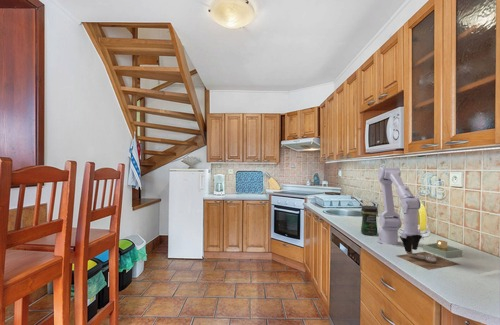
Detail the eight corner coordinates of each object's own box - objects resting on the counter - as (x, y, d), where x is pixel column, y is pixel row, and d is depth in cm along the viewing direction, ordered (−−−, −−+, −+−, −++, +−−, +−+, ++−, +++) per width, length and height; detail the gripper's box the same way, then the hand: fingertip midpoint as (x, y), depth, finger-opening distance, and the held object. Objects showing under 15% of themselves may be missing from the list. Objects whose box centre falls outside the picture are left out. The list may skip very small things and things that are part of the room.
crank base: (395, 257, 115) (395, 255, 115) (425, 253, 120) (425, 251, 120) (428, 272, 99) (428, 269, 99) (461, 266, 105) (461, 263, 105)
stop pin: (435, 252, 121) (435, 240, 121) (441, 251, 121) (441, 240, 122) (443, 255, 117) (443, 243, 117) (449, 254, 118) (449, 242, 118)
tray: (422, 251, 123) (422, 244, 123) (438, 249, 126) (438, 242, 126) (445, 259, 112) (445, 252, 112) (462, 257, 115) (462, 249, 116)
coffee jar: (362, 235, 152) (362, 206, 152) (360, 231, 159) (359, 204, 160) (379, 236, 149) (379, 207, 150) (375, 232, 157) (375, 205, 157)
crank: (436, 261, 108) (436, 247, 108) (435, 264, 105) (435, 250, 105) (407, 254, 116) (407, 242, 116) (405, 257, 113) (405, 244, 113)
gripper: (412, 226, 107) (412, 256, 107) (427, 222, 115) (427, 250, 115) (396, 223, 113) (396, 251, 113) (411, 219, 121) (411, 246, 121)
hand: (411, 250), depth 114 cm, fingers open, 5 cm apart
